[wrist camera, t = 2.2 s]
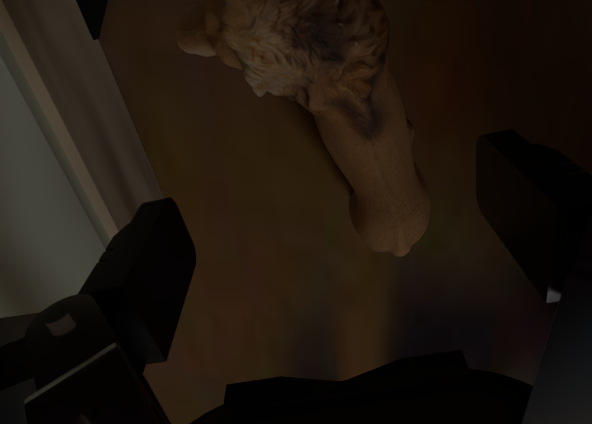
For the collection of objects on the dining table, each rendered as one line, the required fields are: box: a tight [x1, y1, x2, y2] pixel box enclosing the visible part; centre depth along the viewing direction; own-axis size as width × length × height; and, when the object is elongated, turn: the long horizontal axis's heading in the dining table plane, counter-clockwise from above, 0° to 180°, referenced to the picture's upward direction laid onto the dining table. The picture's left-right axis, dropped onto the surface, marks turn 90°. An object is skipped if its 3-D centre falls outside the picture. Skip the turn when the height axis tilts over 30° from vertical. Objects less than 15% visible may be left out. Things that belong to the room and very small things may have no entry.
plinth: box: [0, 0, 164, 318], centre depth 18 cm, size 9×13×6 cm
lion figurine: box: [176, 0, 431, 257], centre depth 16 cm, size 15×5×9 cm, turn 34°
